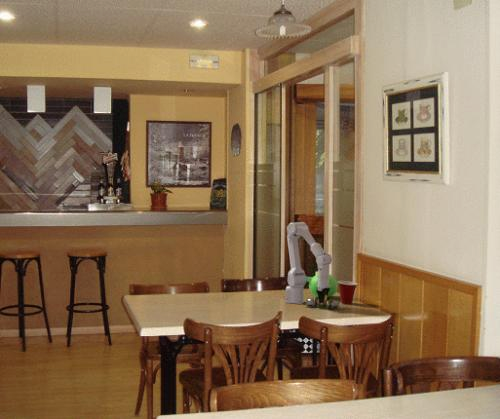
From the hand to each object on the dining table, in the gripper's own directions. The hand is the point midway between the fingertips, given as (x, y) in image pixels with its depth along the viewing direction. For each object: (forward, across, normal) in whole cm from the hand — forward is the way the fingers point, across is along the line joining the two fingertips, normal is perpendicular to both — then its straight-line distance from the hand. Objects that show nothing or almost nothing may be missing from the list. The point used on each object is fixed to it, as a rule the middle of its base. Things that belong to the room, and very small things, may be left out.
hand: (322, 302), depth 384 cm
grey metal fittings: (+3, 0, 0) cm, 3 cm away
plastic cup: (+3, +19, -9) cm, 21 cm away
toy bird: (+3, +31, +8) cm, 32 cm away
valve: (+2, 0, 0) cm, 2 cm away
